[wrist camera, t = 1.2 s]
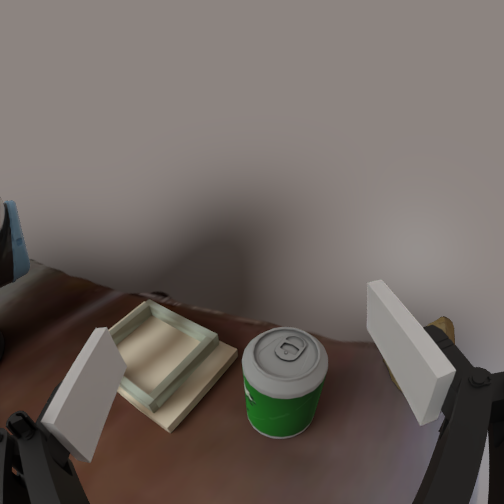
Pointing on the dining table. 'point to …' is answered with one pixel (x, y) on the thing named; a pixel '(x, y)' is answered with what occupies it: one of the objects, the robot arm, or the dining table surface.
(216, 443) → the dining table surface
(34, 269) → the dining table surface
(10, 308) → the dining table surface
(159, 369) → the stand
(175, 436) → the dining table surface
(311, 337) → the soda can
